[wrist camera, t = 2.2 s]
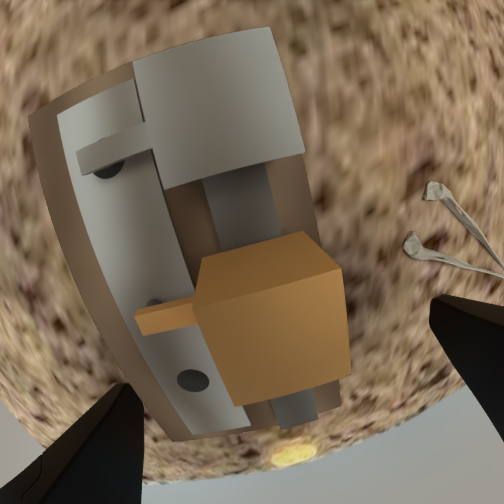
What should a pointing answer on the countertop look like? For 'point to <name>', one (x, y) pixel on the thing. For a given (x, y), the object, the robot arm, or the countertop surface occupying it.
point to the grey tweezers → (441, 192)
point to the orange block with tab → (265, 317)
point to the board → (177, 209)
